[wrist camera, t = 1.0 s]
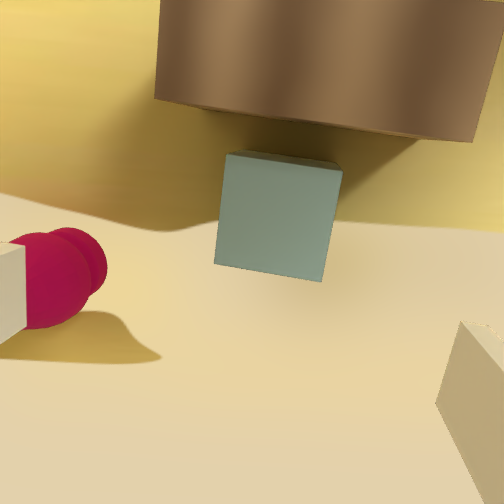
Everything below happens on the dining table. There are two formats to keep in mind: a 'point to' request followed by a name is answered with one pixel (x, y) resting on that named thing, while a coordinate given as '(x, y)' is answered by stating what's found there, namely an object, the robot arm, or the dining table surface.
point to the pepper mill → (60, 274)
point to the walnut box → (334, 61)
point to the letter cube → (277, 213)
